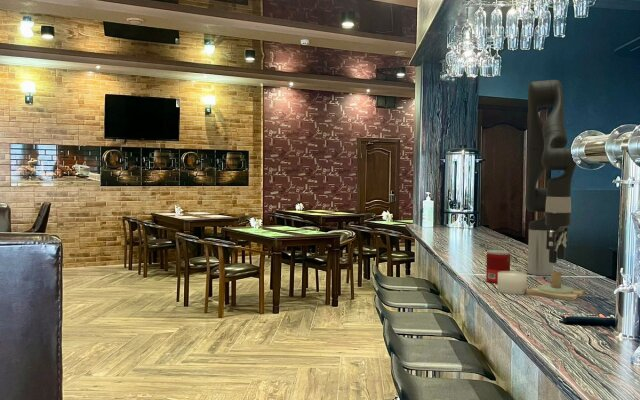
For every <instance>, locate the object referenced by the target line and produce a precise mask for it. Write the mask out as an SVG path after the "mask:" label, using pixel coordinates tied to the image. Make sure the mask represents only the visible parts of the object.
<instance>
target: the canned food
mask: <svg viewBox="0 0 640 400" xmlns="http://www.w3.org/2000/svg"><path fill="white" fill-rule="evenodd" d="M500 271H511V252H510V251H508V250H500V249H499V250H498V249H490V250H486V274H485V277H486V282H487V283H490V284H494V283H495V284H497V285H498V272H500Z"/></svg>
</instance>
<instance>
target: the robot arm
mask: <svg viewBox="0 0 640 400" xmlns="http://www.w3.org/2000/svg"><path fill="white" fill-rule="evenodd" d="M563 91H564V90H563V85H562V83H561V82H560V81H559V80H557V79H550V80H549V79H547V80H536V81H531V82H530V83H529V85H528V88H527V103H528V104H527V107H528V109H527V110H528V113H527V114H528V130H527V131H528V134H527V152H526V155H527V158H526V159H527V161H526V163H527V170H526V171H527V172H526V173H527V176H526V187H525V195H524V196H525V200H524V201H525V209H526V210H527V212H530V213H532V212H533V213H544V214H545V215H544V216H542V217H540V218H539V219H534V220H532V221H530V222H529V223H528V246H527V248H528V250H527V251H528V255H527V274H529V275H534V276H545V277H546V276H548V277H549V276H551V272H552V271H554V268H555V267H554V265H555V264H556V263H558V262H557V261H558V260H562V261H563V260H565V259H566V248H567V246H568V244H569V227H570V226H571V223H572V201H571V200H572V199H571V194H572V193H571V188H572V180H573V177H574V173H575V170H576V166H577V164H576V163H575V162H574V161H573V158H572V154H571V148H572V147H567V145H568V136H567V131H566V127H565V106H564V105H565V104H564V92H563ZM544 107H545V108H546V107H547V108H548V107H550V108H552V110H551V112H550V113H549V114H548V115H547V117H546V119H545V120H544V122H543V120H542V118H541V116H540V113H539V108H544ZM546 170H547V171H563V173H562V174H561V175H560V176H557V177H552V178H551V177H550V178H549V179H547V181H546V188H545V187H536V186H537V184H538V181H539V180H540V178H541V176H542V175H543V174H544V172H545V171H546Z"/></svg>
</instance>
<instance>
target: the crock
mask: <svg viewBox="0 0 640 400" xmlns="http://www.w3.org/2000/svg"><path fill="white" fill-rule="evenodd" d="M527 287H528V273H526V272H524V271H523V272H522V271H516V270H515V271H513V270H510V271H500V272H498V284H497V292H499V293H501V294H506V295H526V291H527V290H528V288H527Z"/></svg>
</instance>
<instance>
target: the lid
mask: <svg viewBox="0 0 640 400" xmlns="http://www.w3.org/2000/svg"><path fill="white" fill-rule="evenodd" d="M550 278H551V279H550V282H551V283H550V284H539V285H540V286H539V285H538V286H539V290H541V291H543V292H548V293H555V294H569V293H573V289H574V288H573V287H571V286H568V285H562V271H559V270H558V271H555V270H553V271H552V272H551V275H550Z"/></svg>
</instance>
